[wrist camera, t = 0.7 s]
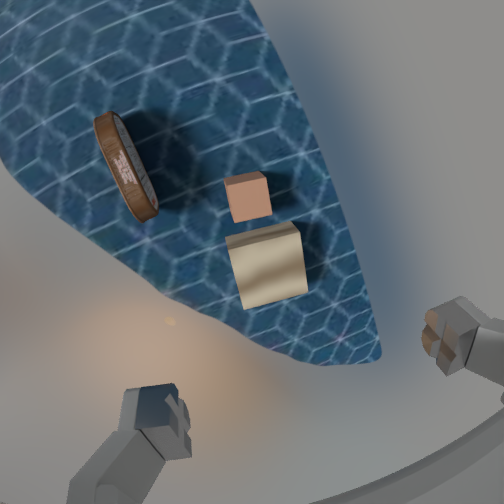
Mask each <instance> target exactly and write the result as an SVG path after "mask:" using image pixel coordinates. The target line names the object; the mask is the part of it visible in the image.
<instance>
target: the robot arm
mask: <svg viewBox="0 0 504 504" xmlns="http://www.w3.org/2000/svg"><path fill="white" fill-rule="evenodd" d="M424 320H425V322H426V323H427V325H426V326H425V328H424V329H423V331H422V337H421V339H422V344H423V347H424V349H425V351H426V352H427V354H428V355H429V356H431V357H434V358H436V364H437V366H438V367H439V368H440V369H441V370H442V372H443V373H444V374H445V375H446V376H448V375H451V374H453V373H454V372H456V371H458V370H460V369H462V368H464V367H465V368H466V369H468V370H470V371H472V372H474V373H476V374H479V375H481V376H483V377H485V378H487V379H489V380H491V381H493V382H496V383H498V384H500V385H502V386H504V320H500V319H497V318H493V319H490V318H489V317H488V316H487V315H486V314H485V313H483V312H482V311H481V310H480V309H479V308H477V307H476V306H475V305H474V304H473V303H471V302H470V301H469V300H468V299H467V298H465V297H463V296H459V297H457V298H455V299H453V300H451V301H449V302H446V303H444V304H441V305H439V306H437V307H434V308H432V309H430V310H428V311H427V312H426V314H425V319H424ZM501 402H502V403H503V404H504V392H503V394H502V396H501ZM189 429H190V418H189V413H188V409H187V407H186V404H185V402H184V400H182V399H180V398H178V389H177V388H176V386H175V384H172V383H170V384H163V385H155V386H147V387H141V388H132V389H126V391H125V392H124V395H123V401H122V406H121V413H120V419H119V425H118V431H114V432H113V433H112V434H111V435H110V436H109V437H108V438H107V439H106V441H105V442H104V443H103V444H102V445H101V446H100V447H99V449H98V450H97V451H96V452H95V453H94V454H93V455H92V457H91V458H90V459H89V460H88V461H87V462H86V463H85V465H84V466H83V467H82V468H81V469H80V470H79V471H78V473H77V474H76V475H75V476H74V477H73V478H72V479H71V481H70V484H69V490H68V497H67V503H66V504H142V502H143V501H144V499H145V497H146V496H147V494H148V492H149V490H150V489H151V487H152V485H153V484H154V482H155V480H156V478H157V477H158V475H159V473H160V472H161V470H162V468H163V466H164V465H165V463H166V462H165V461H168V460H176V459H183V458H190V457H192V450H191V439H190V437H189V436H188V434H187V432H188V431H189ZM0 504H6V503H3V502H0ZM310 504H504V408H503V409H501V410H500V411H498V412H497V413H496V414H494V415H493V416H491V417H490V418H489V419H487V420H486V421H484V422H483V423H481V424H480V425H479V426H477V427H476V428H474V429H473V430H471V431H470V432H468V433H466V434H465V435H463V436H462V437H460V438H458V439H457V440H455V441H453V442H452V443H450V444H448V445H447V446H445V447H443V448H442V449H440V450H438V451H436V452H434V453H433V454H431V455H429V456H427V457H425V458H423V459H421V460H420V461H417V462H415V463H413V464H411V465H409V466H407V467H405V468H403V469H401V470H399V471H397V472H395V473H392V474H390V475H388V476H386V477H384V478H381V479H379V480H376V481H374V482H371V483H369V484H366V485H364V486H361V487H358V488H356V489H353V490H350V491H347V492H345V493H342V494H339V495H336V496H333V497H330V498H327V499H323V500H320V501H317V502H313V503H310Z"/></svg>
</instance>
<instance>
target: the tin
mask: <svg viewBox="0 0 504 504" xmlns="http://www.w3.org/2000/svg"><path fill="white" fill-rule="evenodd" d="M93 125H94V131H95V135H96V138H97V141H98V144H99V146H100V148H101V151H102V153H103V155H104V157H105V159H106V162H107V164H108V166H109V168H110V171H111V173H112V175H113V177H114V179H115V181H116V183H117V185H118V188H119V190H120V192H121V194H122V196H123V198H124V200H125V202H126V204H127V206H128V208H129V209H130V211H131V212H132V214H133V215H134V217H135V218H136V219H137V220H138V221H139V222H140V223H144V222H145V221H147V220H149V219H151V218H153V217H155V216H157V215H158V212H159V203H158V199H157V196H156V193H155V191H154V188H153V186H152V183H151V181H150V179H149V177H148V175H147V172H146V170H145V168H144V166H143V163H142V161H141V159H140V156H139V154H138V152H137V150H136V147H135V145H134V143H133V141H132V139H131V136H130V134H129V132H128V130H127V128H126V126H125V124H124V123H123V121H122V119H121V118H120V116H119V115H118V114H117V113H115V112H113V111H109V112H107V113H105V114H103V115H101V116H99V117H96V118H95V119H94V122H93Z"/></svg>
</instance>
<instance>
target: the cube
mask: <svg viewBox="0 0 504 504" xmlns="http://www.w3.org/2000/svg"><path fill="white" fill-rule="evenodd" d="M224 183H225V187H226V192H227V197H228V201H229V206H230V211H231V214H232V217H233V220H234V223H237V222H241V221H246V220H250V219H254V218H259V217H263V216H268V215H272V209H271V203H270V198H269V192H268V186H267V180H266V177H265V176H264V175H263V174H262V173H261V172H259V171H256V172H251V173H246V174H241V175H237V176H232V177H228V178H224Z"/></svg>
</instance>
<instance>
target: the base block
mask: <svg viewBox="0 0 504 504" xmlns="http://www.w3.org/2000/svg"><path fill="white" fill-rule="evenodd" d="M225 239H226V243H227V247H228V252H229V255H230V259H231V263H232V267H233V271H234V274H235V278H236V282H237V286H238V290H239V293H240V297H241V301H242V304H243V308H244V310H245V309H249V308H252V307H256V306H260V305H264V304H267V303H271V302H275V301H279V300H282V299H286V298H289V297H293V296H297V295H300V294H304V293H307V292H308V287H307V279H306V272H305V265H304V257H303V250H302V243H301V237H300V232H299V230H298V229H297V228H296V227H295V226H294V224H293V223H292V222H291V221H288V222H284V223H280V224H276V225H272V226H268V227H263V228H259V229H255V230H252V231H248V232H244V233H240V234H236V235H232V236H228V237H225Z"/></svg>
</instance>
